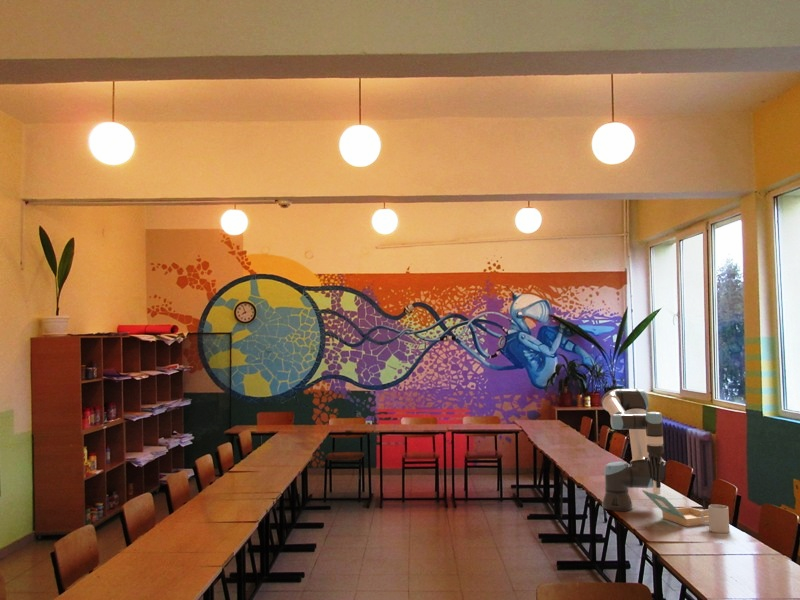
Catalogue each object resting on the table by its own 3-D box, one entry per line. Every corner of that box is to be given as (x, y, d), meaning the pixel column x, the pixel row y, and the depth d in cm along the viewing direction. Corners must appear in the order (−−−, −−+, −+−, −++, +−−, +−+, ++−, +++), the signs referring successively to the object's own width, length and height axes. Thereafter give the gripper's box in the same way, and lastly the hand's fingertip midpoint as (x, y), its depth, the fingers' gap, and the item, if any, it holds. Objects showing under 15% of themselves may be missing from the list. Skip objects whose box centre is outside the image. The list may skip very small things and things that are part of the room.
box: (687, 526, 322) (687, 519, 322) (662, 517, 338) (662, 510, 338) (715, 522, 328) (715, 515, 328) (690, 514, 344) (689, 507, 344)
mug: (726, 528, 319) (725, 504, 319) (731, 533, 310) (730, 509, 311) (699, 527, 321) (698, 503, 321) (703, 532, 312) (702, 508, 313)
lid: (685, 518, 323) (684, 519, 323) (662, 510, 337) (662, 511, 337) (664, 497, 319) (664, 498, 319) (642, 490, 334) (642, 491, 334)
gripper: (670, 446, 324) (672, 496, 323) (652, 442, 336) (654, 490, 335) (657, 447, 321) (660, 497, 320) (639, 443, 333) (641, 491, 332)
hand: (657, 494), depth 327 cm, fingers closed
